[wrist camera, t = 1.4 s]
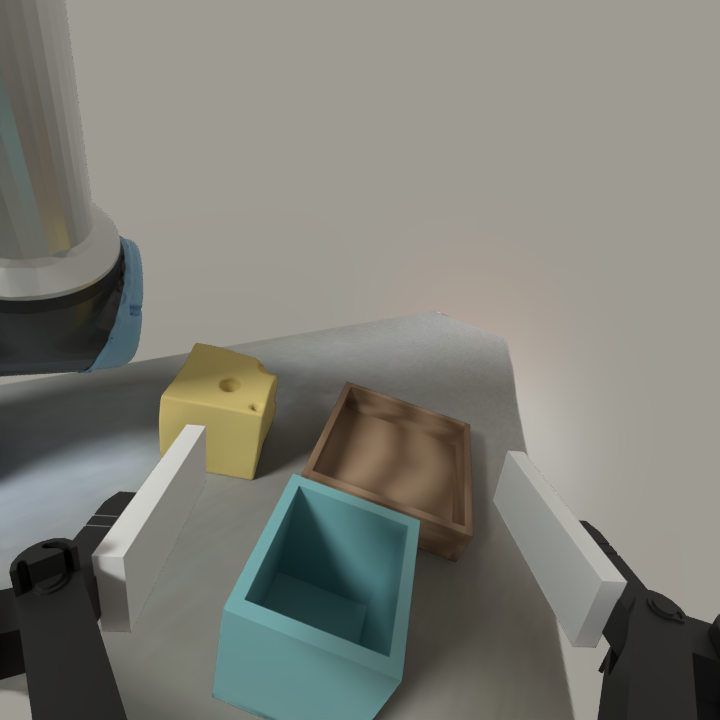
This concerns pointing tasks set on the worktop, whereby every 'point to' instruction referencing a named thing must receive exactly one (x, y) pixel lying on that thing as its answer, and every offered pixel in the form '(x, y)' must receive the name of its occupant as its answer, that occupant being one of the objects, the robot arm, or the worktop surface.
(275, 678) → the teal crate
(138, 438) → the worktop surface
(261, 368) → the cheese
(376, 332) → the worktop surface
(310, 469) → the walnut crate
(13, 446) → the worktop surface
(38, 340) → the robot arm
